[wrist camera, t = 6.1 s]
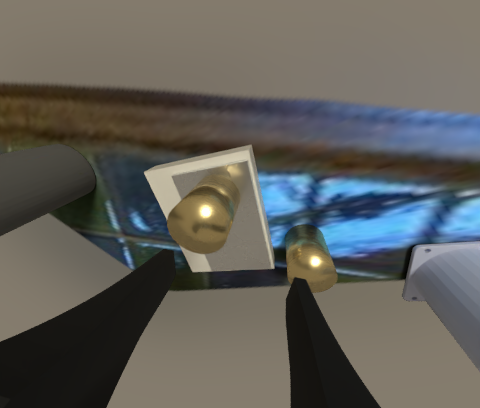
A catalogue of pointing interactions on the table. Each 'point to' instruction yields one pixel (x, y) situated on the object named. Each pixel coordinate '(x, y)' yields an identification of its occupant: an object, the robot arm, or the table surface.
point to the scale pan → (244, 224)
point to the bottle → (40, 183)
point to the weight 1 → (205, 215)
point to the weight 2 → (309, 258)
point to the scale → (162, 173)
